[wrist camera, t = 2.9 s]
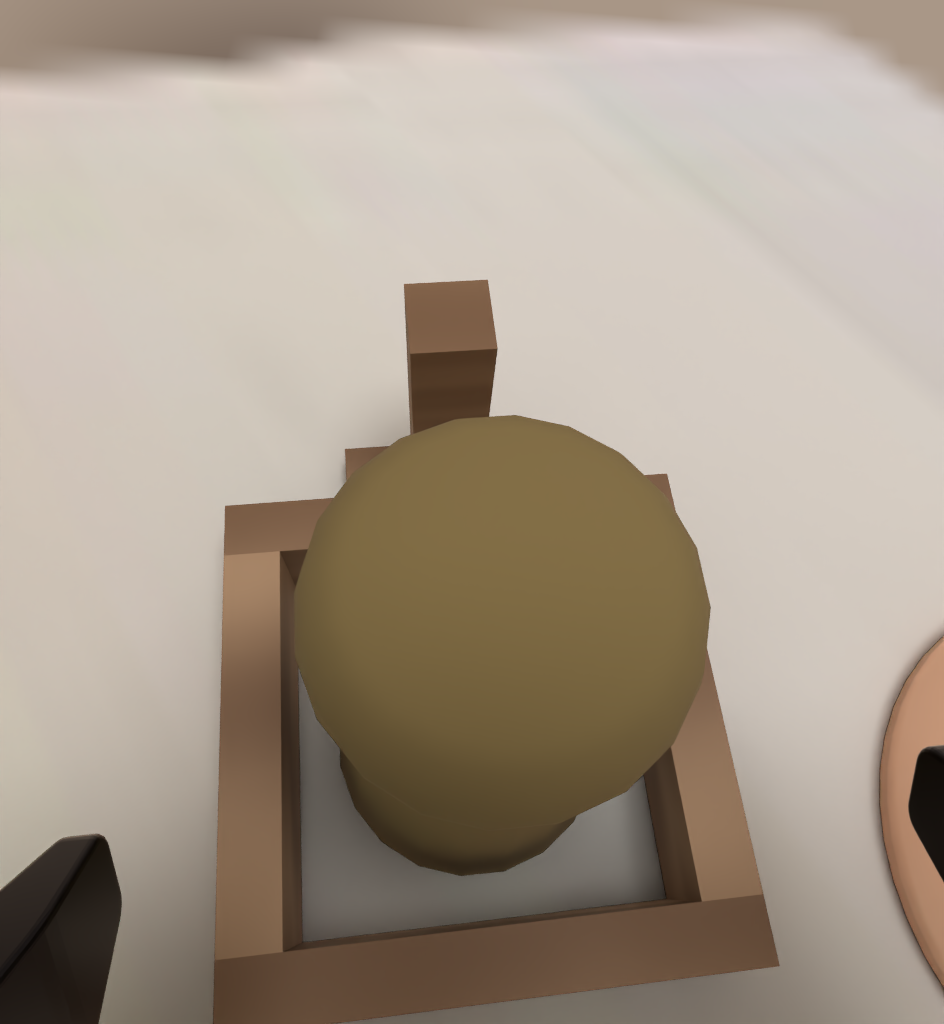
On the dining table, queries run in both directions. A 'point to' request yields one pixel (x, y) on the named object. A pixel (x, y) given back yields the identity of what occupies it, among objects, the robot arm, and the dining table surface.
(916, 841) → the coaster
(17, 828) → the dining table surface
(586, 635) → the olive bulb shape
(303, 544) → the collar stand
